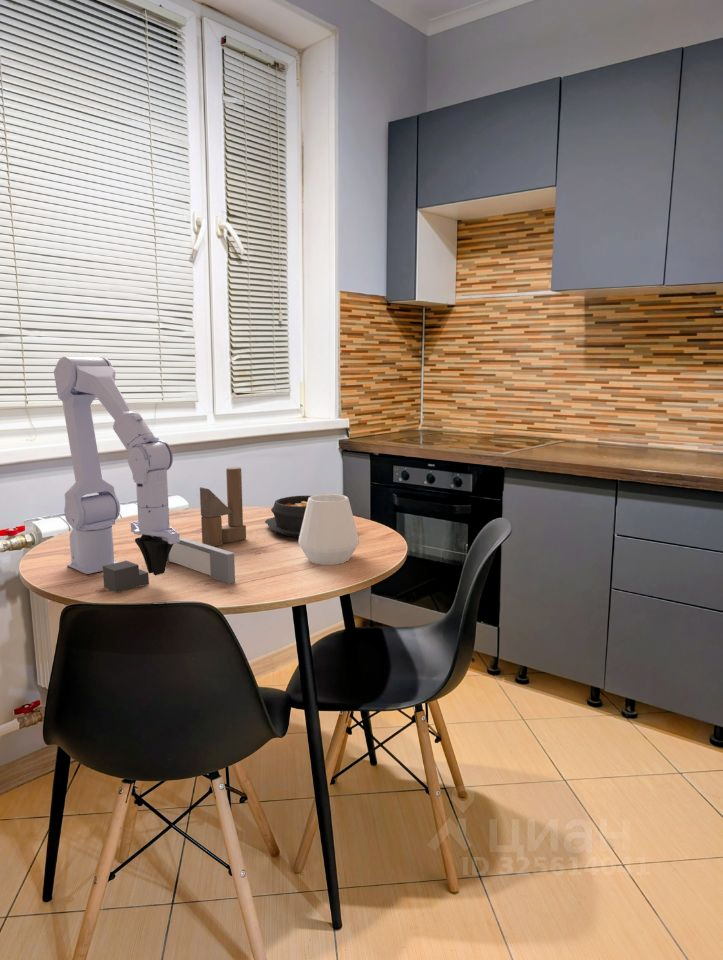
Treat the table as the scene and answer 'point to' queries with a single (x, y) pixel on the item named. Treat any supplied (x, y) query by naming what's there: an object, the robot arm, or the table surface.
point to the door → (190, 557)
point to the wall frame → (216, 561)
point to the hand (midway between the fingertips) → (156, 573)
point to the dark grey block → (124, 576)
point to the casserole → (288, 515)
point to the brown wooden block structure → (223, 512)
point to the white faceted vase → (328, 530)
